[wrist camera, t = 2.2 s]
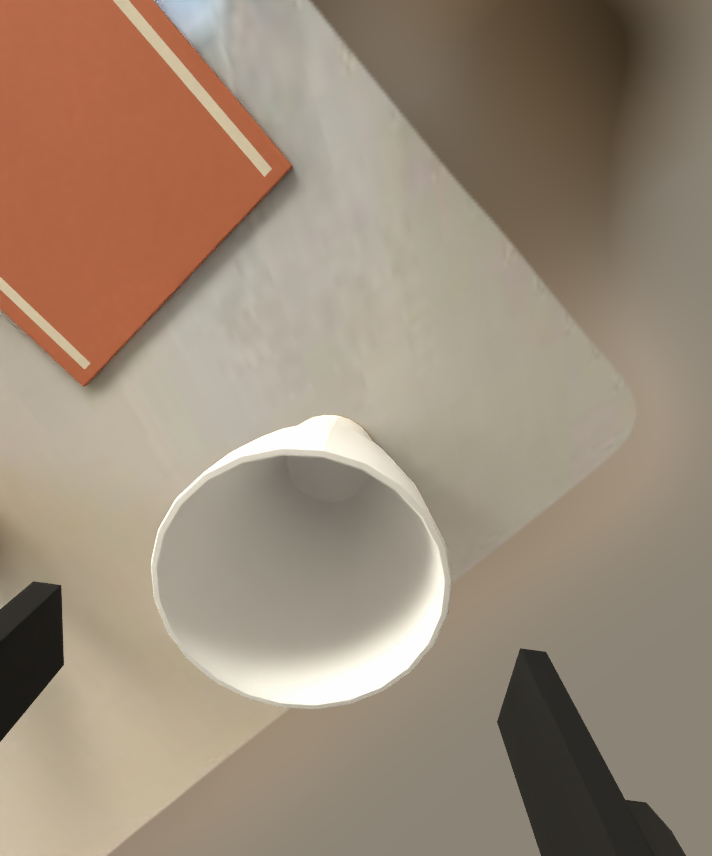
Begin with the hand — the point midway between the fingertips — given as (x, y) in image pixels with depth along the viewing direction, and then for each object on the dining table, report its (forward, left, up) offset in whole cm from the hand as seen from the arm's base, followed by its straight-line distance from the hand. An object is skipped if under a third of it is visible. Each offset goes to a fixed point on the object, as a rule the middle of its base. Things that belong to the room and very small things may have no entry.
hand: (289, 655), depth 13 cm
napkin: (+17, -15, -16) cm, 28 cm away
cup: (0, 0, -16) cm, 16 cm away
